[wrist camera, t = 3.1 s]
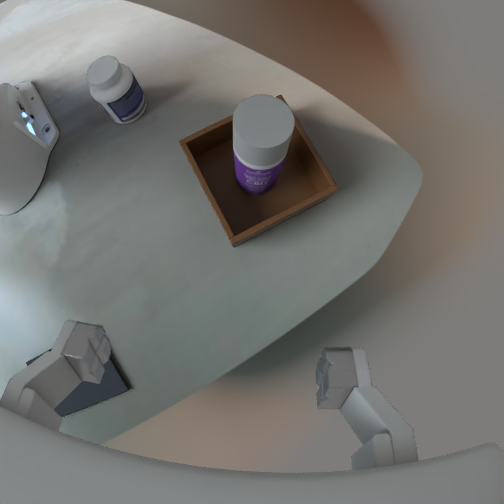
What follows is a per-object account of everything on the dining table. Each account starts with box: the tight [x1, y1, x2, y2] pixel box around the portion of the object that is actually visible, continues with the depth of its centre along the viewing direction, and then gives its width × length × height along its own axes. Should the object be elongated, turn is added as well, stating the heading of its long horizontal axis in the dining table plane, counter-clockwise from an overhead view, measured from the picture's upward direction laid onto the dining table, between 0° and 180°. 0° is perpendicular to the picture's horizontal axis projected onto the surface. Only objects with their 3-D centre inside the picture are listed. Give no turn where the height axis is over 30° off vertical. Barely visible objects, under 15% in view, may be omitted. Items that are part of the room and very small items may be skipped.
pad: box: [26, 349, 129, 416], centre depth 35 cm, size 9×14×1 cm, turn 118°
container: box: [233, 95, 295, 196], centre depth 29 cm, size 5×5×15 cm
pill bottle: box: [86, 56, 147, 124], centre depth 32 cm, size 5×5×10 cm
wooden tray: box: [179, 95, 338, 247], centre depth 34 cm, size 12×12×5 cm
